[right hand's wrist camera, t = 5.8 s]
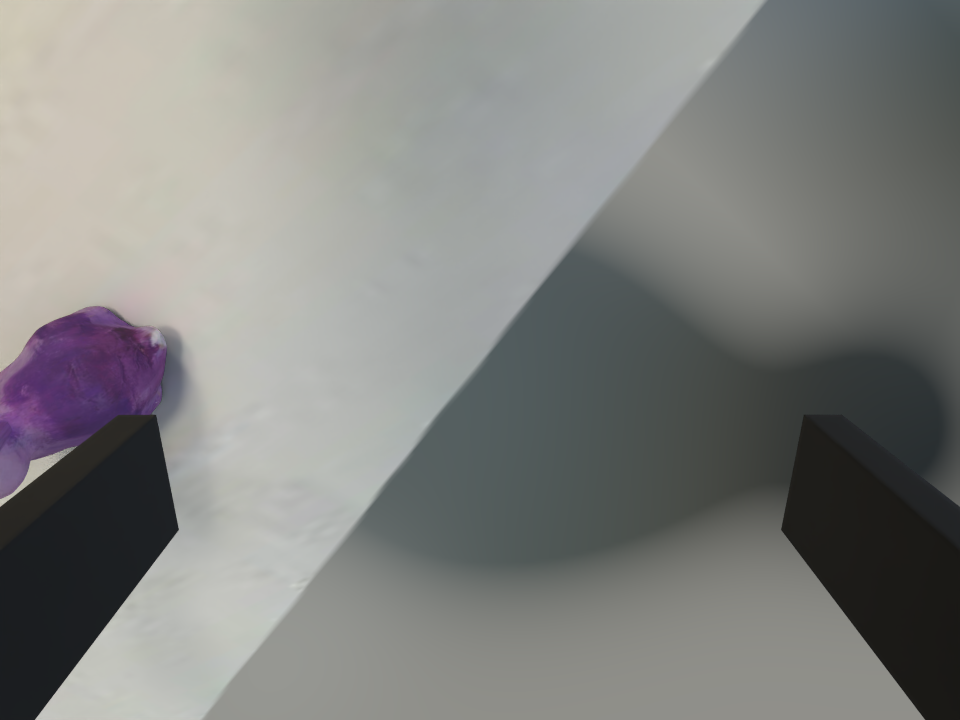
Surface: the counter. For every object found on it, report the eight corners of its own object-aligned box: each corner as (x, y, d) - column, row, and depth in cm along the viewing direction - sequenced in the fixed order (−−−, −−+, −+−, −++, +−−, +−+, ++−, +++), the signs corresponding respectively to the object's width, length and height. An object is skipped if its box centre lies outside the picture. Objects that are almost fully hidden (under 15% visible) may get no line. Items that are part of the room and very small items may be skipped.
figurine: (34, 427, 43) (-181, 569, 29) (32, 287, 40) (-212, 372, 26) (171, 454, 44) (26, 606, 30) (180, 320, 41) (22, 419, 27)
